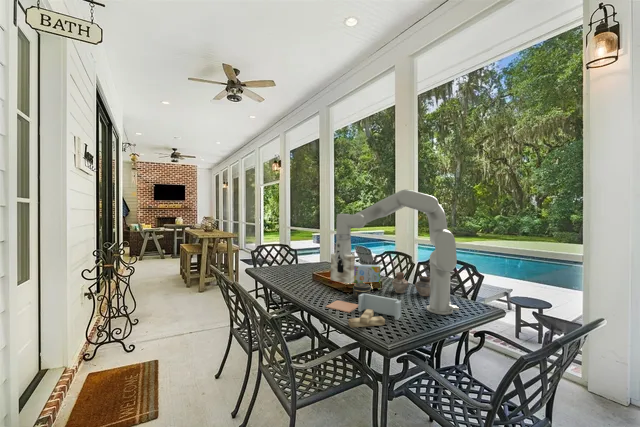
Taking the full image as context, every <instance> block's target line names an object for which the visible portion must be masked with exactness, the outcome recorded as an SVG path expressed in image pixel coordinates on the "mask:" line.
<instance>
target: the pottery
mask: <svg viewBox="0 0 640 427" xmlns="http://www.w3.org/2000/svg"><path fill="white" fill-rule="evenodd" d="M404 275H405V273H404V272H399V271H396V272H395V276H396V277H395V278H394V279H392V281H391V284H392V287H393V289H394V290H395V291H394V292H395V293H397V294H404V293H406V291H405V290H406V289H407V288H408V286H409V281H407V279H405V278H404ZM418 279H419V280H418V281H416V282H414V287H415V290H416V291H417V292H418V293H419V294H418V295H419V296H421V297H430V276H427V275H425V276H424V275H422V276H421V275H420V276H419V278H418Z"/></svg>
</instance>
